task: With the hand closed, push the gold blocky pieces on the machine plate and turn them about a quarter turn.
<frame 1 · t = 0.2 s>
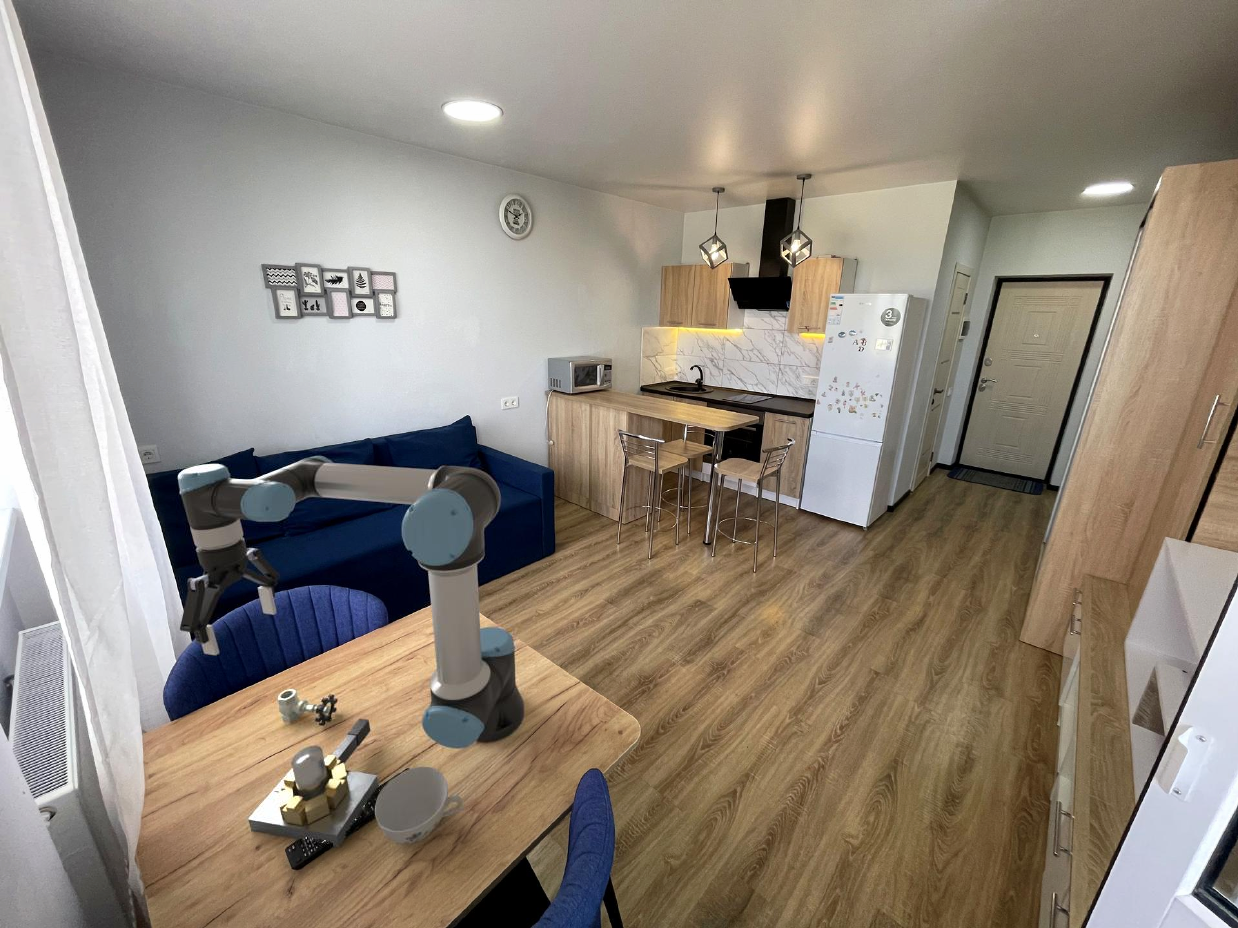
hand: (242, 631, 103), 28 cm above the table, fingers open, 13 cm apart
valve: (307, 718, 116), on the table
machine plate: (318, 807, 95), on the table
teacup: (422, 826, 93), on the table
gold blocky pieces: (331, 764, 98), point 5 cm above the table, hinge at 0.0°
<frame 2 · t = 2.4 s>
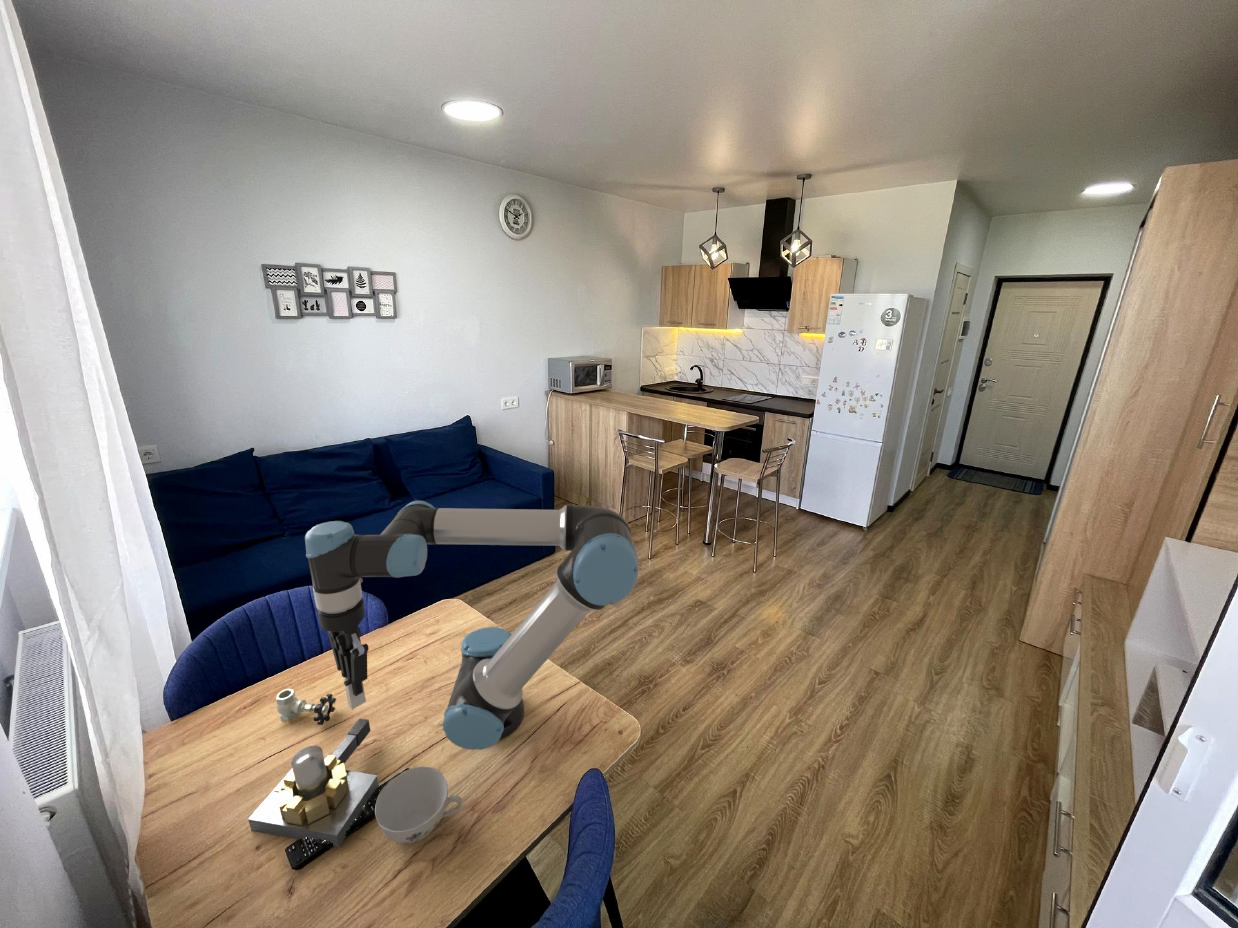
hand: (357, 703, 97), 18 cm above the table, fingers closed
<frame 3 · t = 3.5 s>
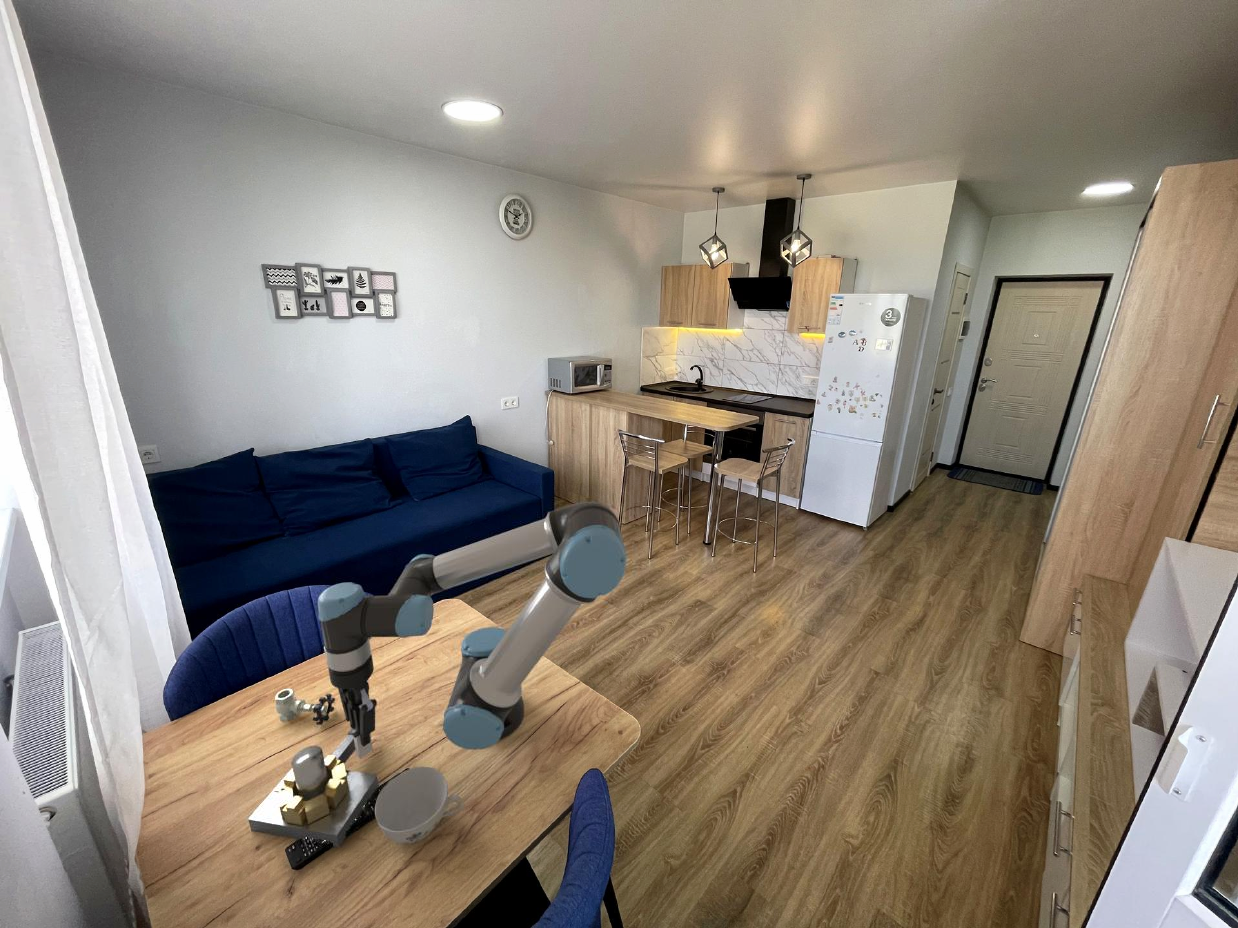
hand: (364, 752, 101), 5 cm above the table, fingers closed
nothing on the table moved.
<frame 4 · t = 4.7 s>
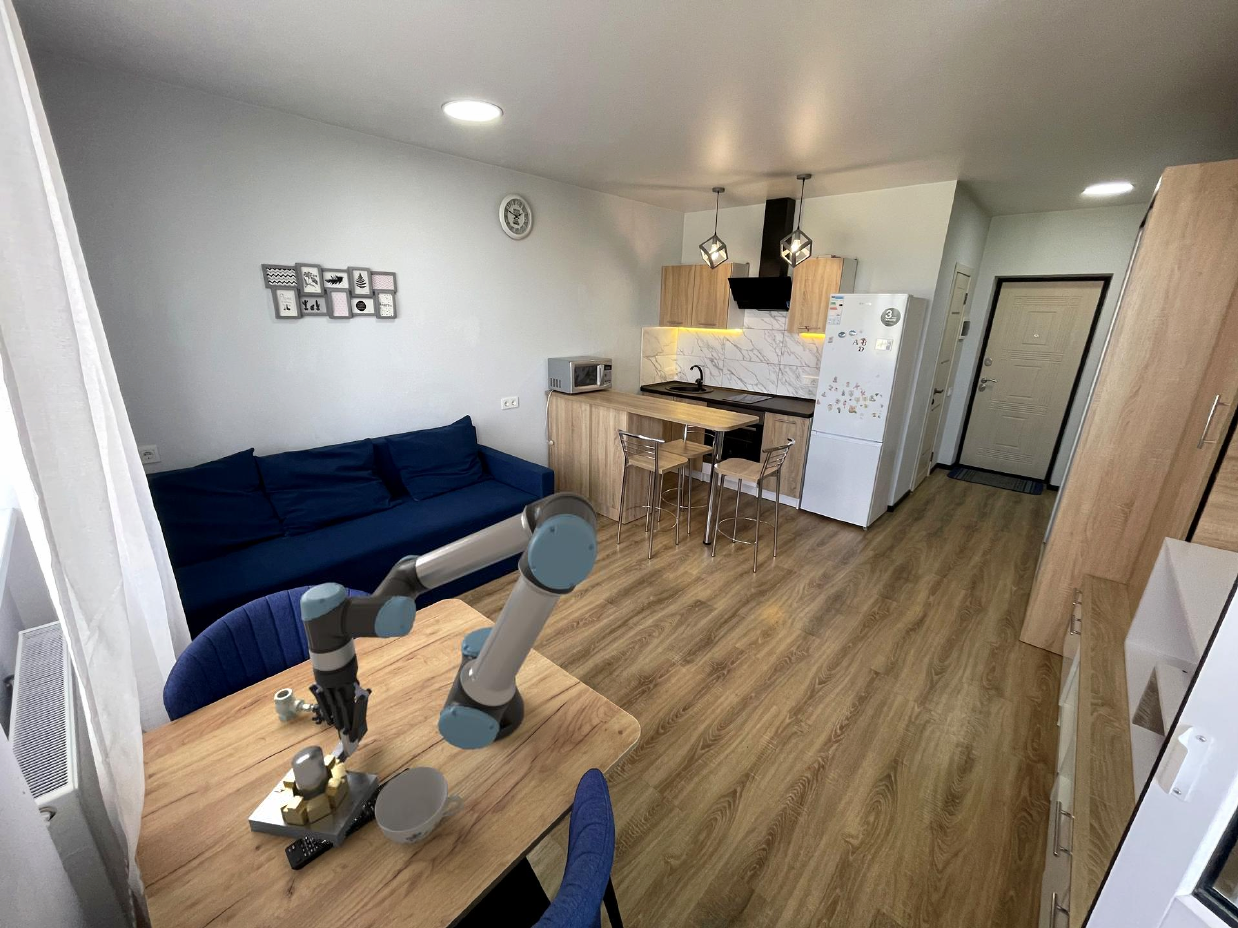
hand: (351, 750, 102), 4 cm above the table, fingers closed
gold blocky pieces: (331, 764, 99), point 5 cm above the table, hinge at 2.4°, touching gripper
everything else where it was.
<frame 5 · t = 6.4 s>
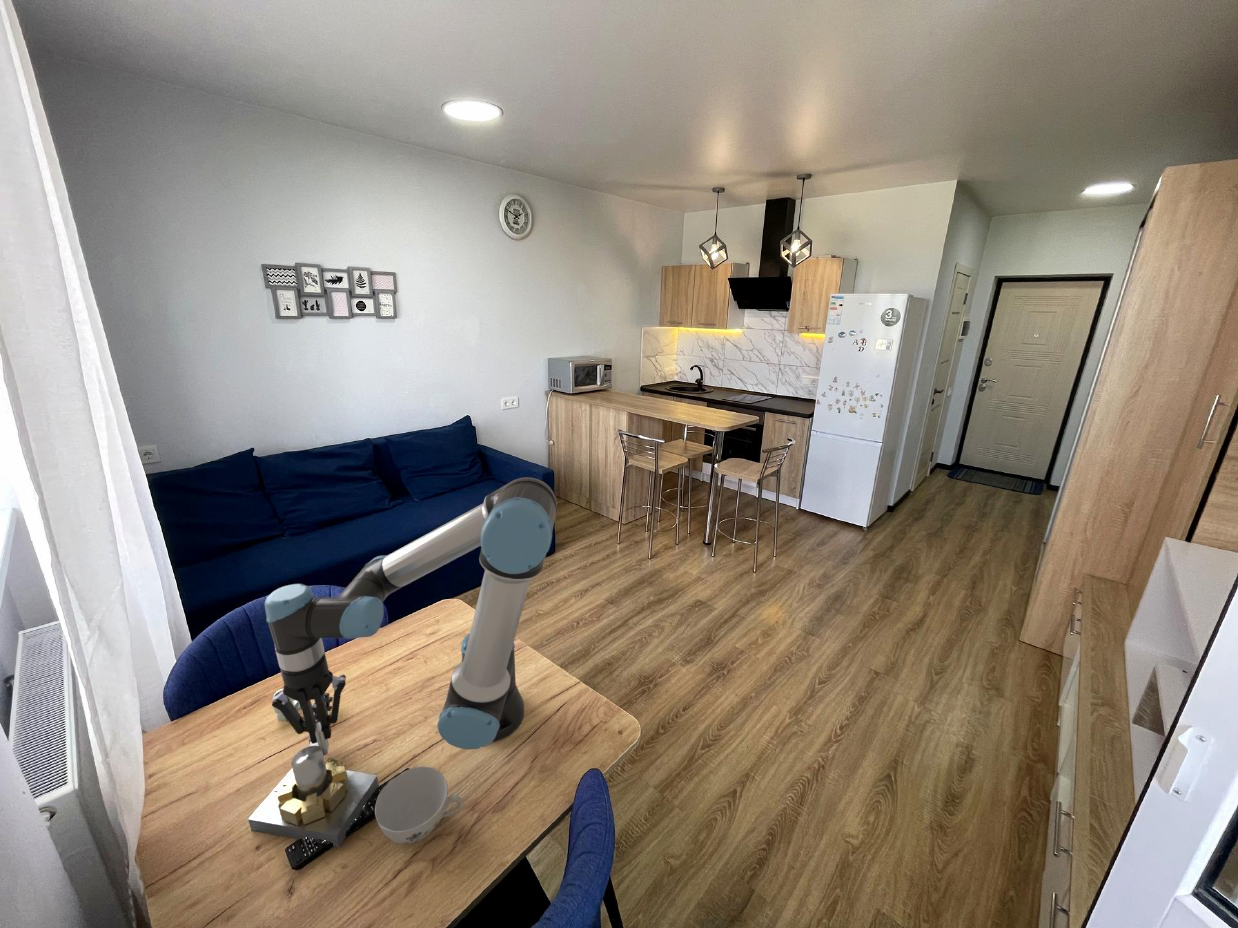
hand: (324, 750, 103), 4 cm above the table, fingers closed
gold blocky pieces: (314, 766, 98), point 5 cm above the table, hinge at 37.5°, touching gripper
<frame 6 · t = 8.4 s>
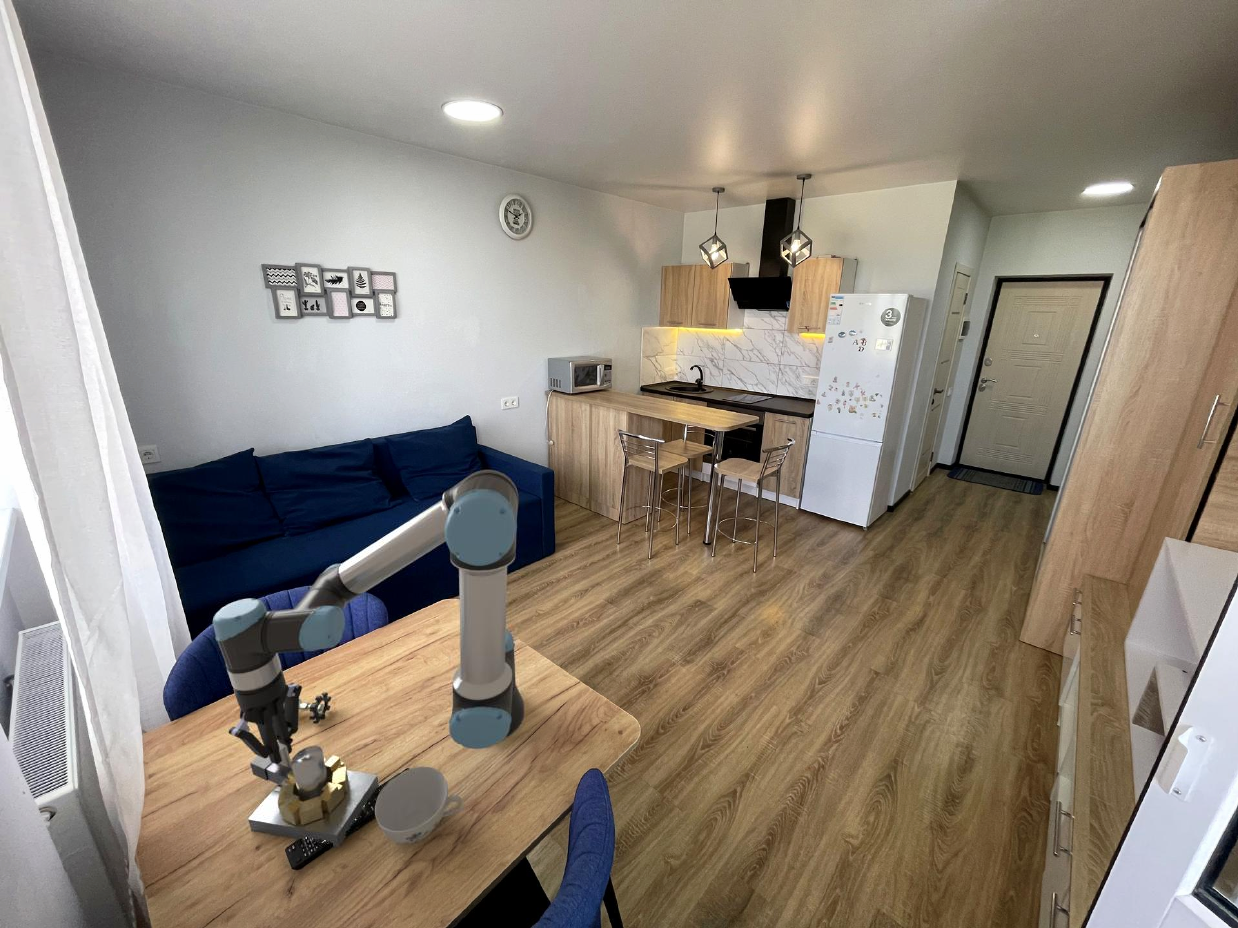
hand: (285, 769, 98), 4 cm above the table, fingers closed
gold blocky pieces: (294, 779, 95), point 5 cm above the table, hinge at 79.0°, touching gripper
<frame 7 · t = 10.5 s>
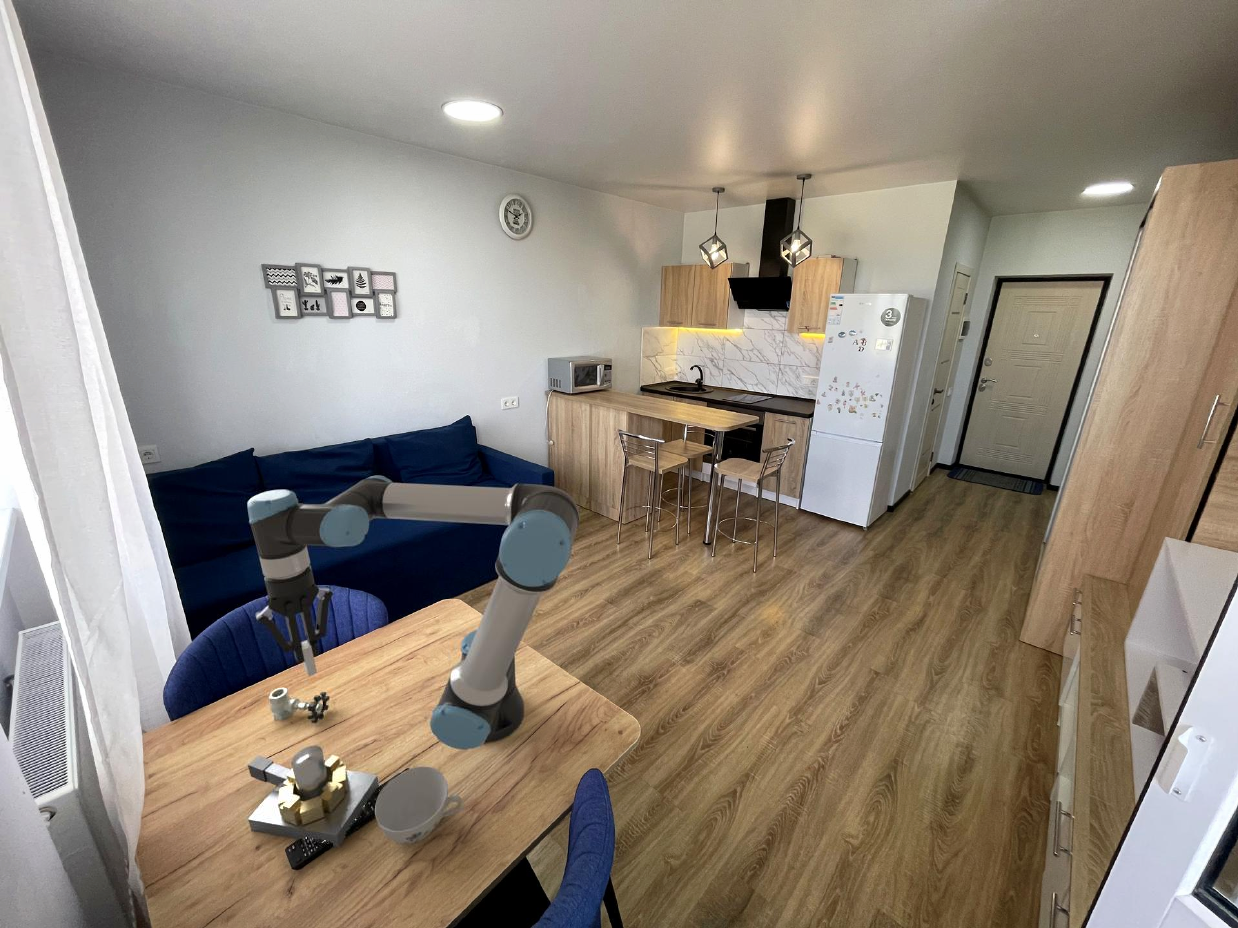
hand: (310, 671, 99), 22 cm above the table, fingers closed
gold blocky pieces: (294, 779, 95), point 5 cm above the table, hinge at 80.8°, touching machine plate
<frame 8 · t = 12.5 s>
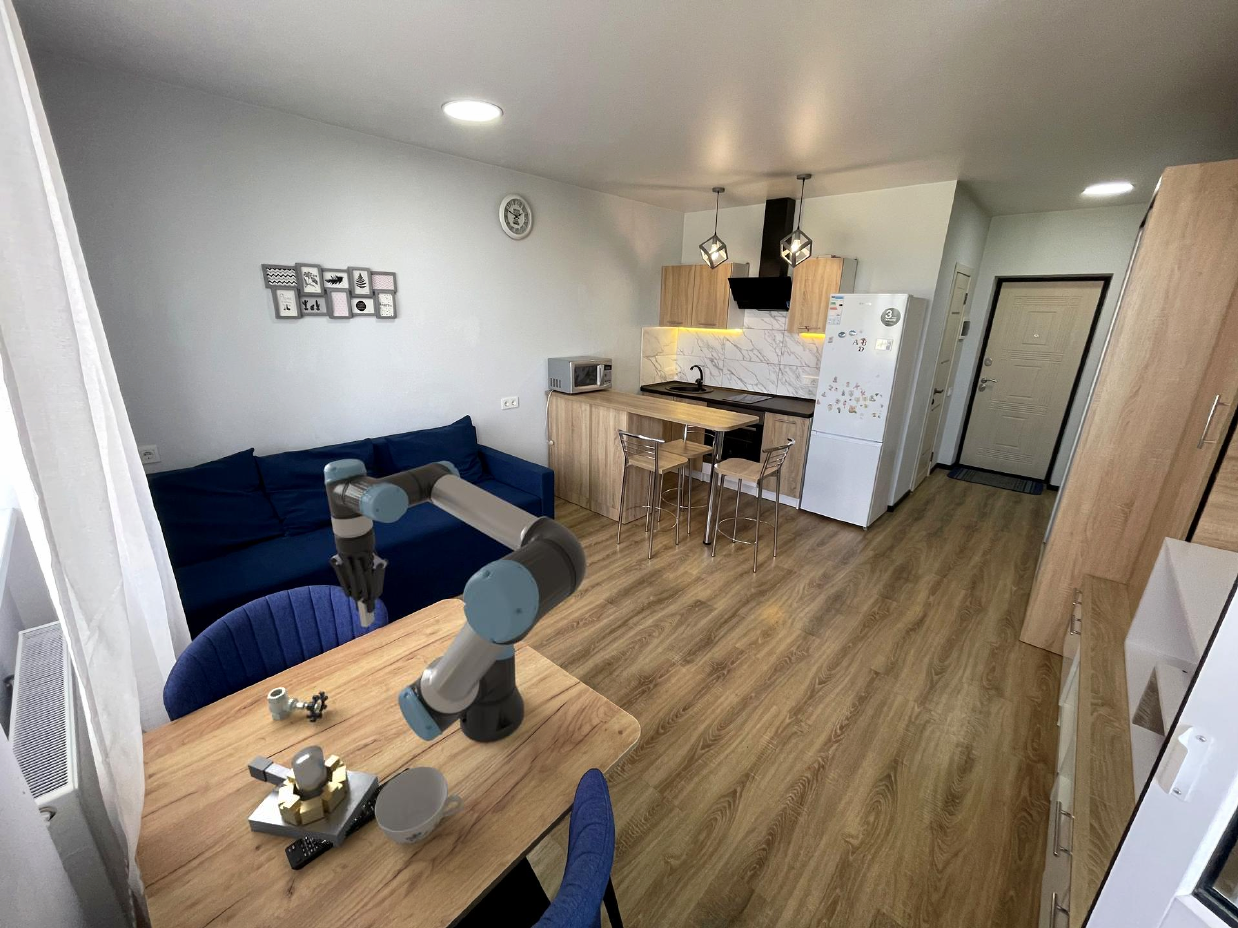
hand: (368, 622, 112), 24 cm above the table, fingers closed
at the end: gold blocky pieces at +81° (first picture: +0°) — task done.
